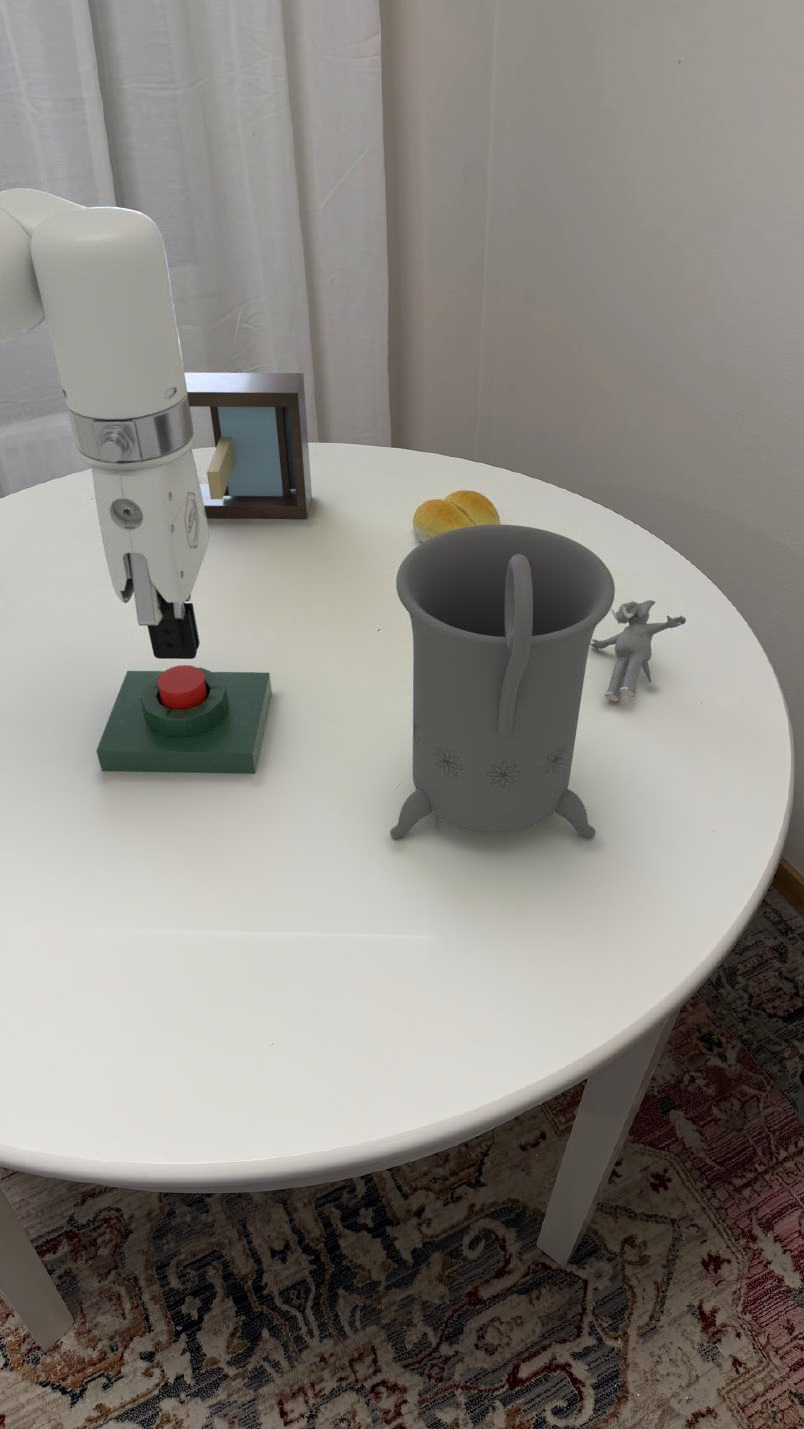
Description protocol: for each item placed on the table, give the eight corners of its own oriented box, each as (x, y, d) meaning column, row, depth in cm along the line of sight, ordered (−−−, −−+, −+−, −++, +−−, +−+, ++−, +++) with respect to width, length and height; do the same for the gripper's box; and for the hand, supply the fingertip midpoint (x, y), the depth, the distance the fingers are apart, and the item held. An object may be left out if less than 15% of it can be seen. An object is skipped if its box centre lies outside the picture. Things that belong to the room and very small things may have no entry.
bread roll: (399, 528, 106) (398, 494, 104) (470, 506, 110) (471, 473, 107) (440, 563, 101) (441, 528, 98) (513, 540, 104) (516, 505, 102)
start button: (156, 710, 78) (152, 693, 77) (166, 681, 81) (162, 664, 80) (202, 711, 78) (199, 693, 77) (210, 682, 81) (207, 665, 80)
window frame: (141, 517, 108) (116, 391, 99) (151, 495, 112) (128, 372, 103) (307, 519, 108) (297, 392, 99) (312, 496, 112) (303, 373, 103)
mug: (391, 724, 82) (385, 436, 66) (572, 723, 82) (610, 435, 66) (389, 906, 68) (381, 596, 52) (608, 904, 68) (669, 594, 52)
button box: (101, 771, 78) (91, 733, 76) (132, 690, 86) (123, 653, 83) (255, 774, 78) (249, 735, 75) (272, 692, 85) (267, 655, 83)
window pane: (209, 532, 102) (195, 436, 96) (222, 493, 109) (210, 400, 102) (281, 532, 102) (272, 436, 95) (291, 493, 108) (283, 401, 102)
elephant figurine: (552, 690, 86) (577, 606, 90) (596, 726, 88) (619, 643, 92) (646, 665, 78) (669, 574, 82) (691, 705, 81) (711, 615, 85)
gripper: (166, 478, 59) (209, 716, 71) (211, 378, 70) (241, 598, 82) (39, 477, 59) (103, 715, 71) (104, 378, 71) (150, 597, 82)
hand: (177, 652), depth 77 cm, fingers closed
